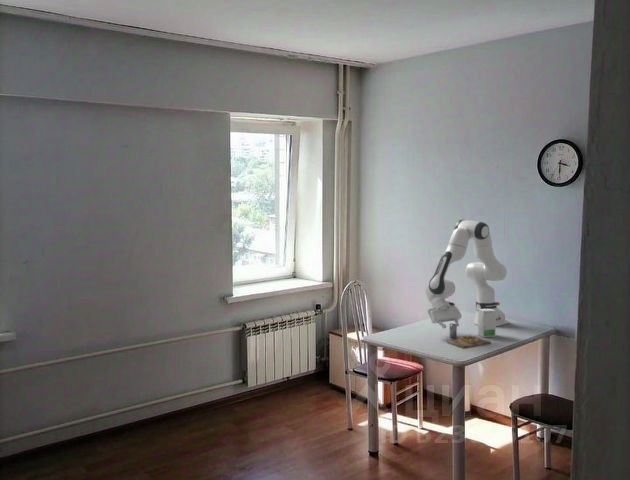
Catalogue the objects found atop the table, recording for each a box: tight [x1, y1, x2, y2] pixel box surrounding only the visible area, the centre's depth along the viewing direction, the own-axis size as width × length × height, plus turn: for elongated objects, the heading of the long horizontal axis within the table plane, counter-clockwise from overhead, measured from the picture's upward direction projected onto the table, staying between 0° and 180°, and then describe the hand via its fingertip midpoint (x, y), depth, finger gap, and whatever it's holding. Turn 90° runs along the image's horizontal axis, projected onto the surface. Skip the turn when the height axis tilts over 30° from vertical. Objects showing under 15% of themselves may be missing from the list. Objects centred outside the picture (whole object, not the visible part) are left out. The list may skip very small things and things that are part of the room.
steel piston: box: [449, 323, 458, 340], centre depth 344 cm, size 4×4×8 cm
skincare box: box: [477, 309, 497, 338], centre depth 347 cm, size 8×7×16 cm
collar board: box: [446, 335, 491, 349], centre depth 332 cm, size 20×13×3 cm, turn 116°
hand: (451, 326), depth 345 cm, fingers open, 8 cm apart
